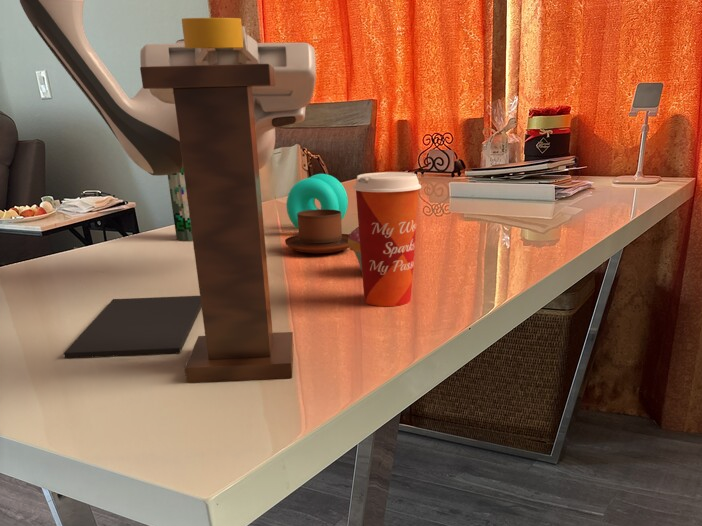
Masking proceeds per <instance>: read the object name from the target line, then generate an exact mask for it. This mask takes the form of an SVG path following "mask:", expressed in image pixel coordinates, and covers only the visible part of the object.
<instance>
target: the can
mask: <svg viewBox="0 0 702 526" xmlns="http://www.w3.org/2000/svg"><path fill="white" fill-rule="evenodd" d="M167 181H168V188H169V194H170V204H171V209H172V217H173V223H174V230H175V237H176V238H175V239H176V241H182V242H193V238H192V230H191V222H190V215H189V207H188V200H187V192H186V184H185V177H184V169H183V168H182V170H181V171H180V172H178V173H174V174H170V175H167Z"/></svg>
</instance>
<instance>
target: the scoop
mask: <svg viewBox="0 0 702 526" xmlns="http://www.w3.org/2000/svg"><path fill="white" fill-rule="evenodd" d="M181 24H182V25H181V26H182V34H183V35H182V36H183V39H184V44H185V48H243V35H242V26H243V25H242V18H240V17H185V18H181Z"/></svg>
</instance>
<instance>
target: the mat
mask: <svg viewBox="0 0 702 526" xmlns="http://www.w3.org/2000/svg"><path fill="white" fill-rule="evenodd" d="M200 311H202V306H201V299H200V295H182V296H181V295H180V296H178V295H177V296H158V297H156V296H155V297H134V298H133V297H129V298H112V300H110V302H109V303H108V304H107V305H106V306H105V307H104V308H103V309H102V310H101V312H100V313H99V314H98V315H97V316H96V317H95V318H94V319H93V320H92V321H91V322H90V324H88V326H87V327H85V329H84V330H83V331H82V332H81V333H80V334H79V336H78V337H77V338H76V339H75V340H74V341H73V342H72V343H71V344H70V346H68V347H67V348H66V349H65V351H64V352H63V356H64V359H78V358H96V357H95V356H104V357H120V356H119V355H127V356H147V355H148V354H150V355H169V354H181V352H182V350H183V348H184V345H185V343H186V341H187V339H188V337H189V334H190V333H191V331H192V329H193V327H194V324H195V322H196V319H197V318H198V316H199V314H200ZM113 355H114V356H113ZM116 355H118V356H116ZM92 356H93V357H92ZM148 356H149V355H148Z"/></svg>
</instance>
